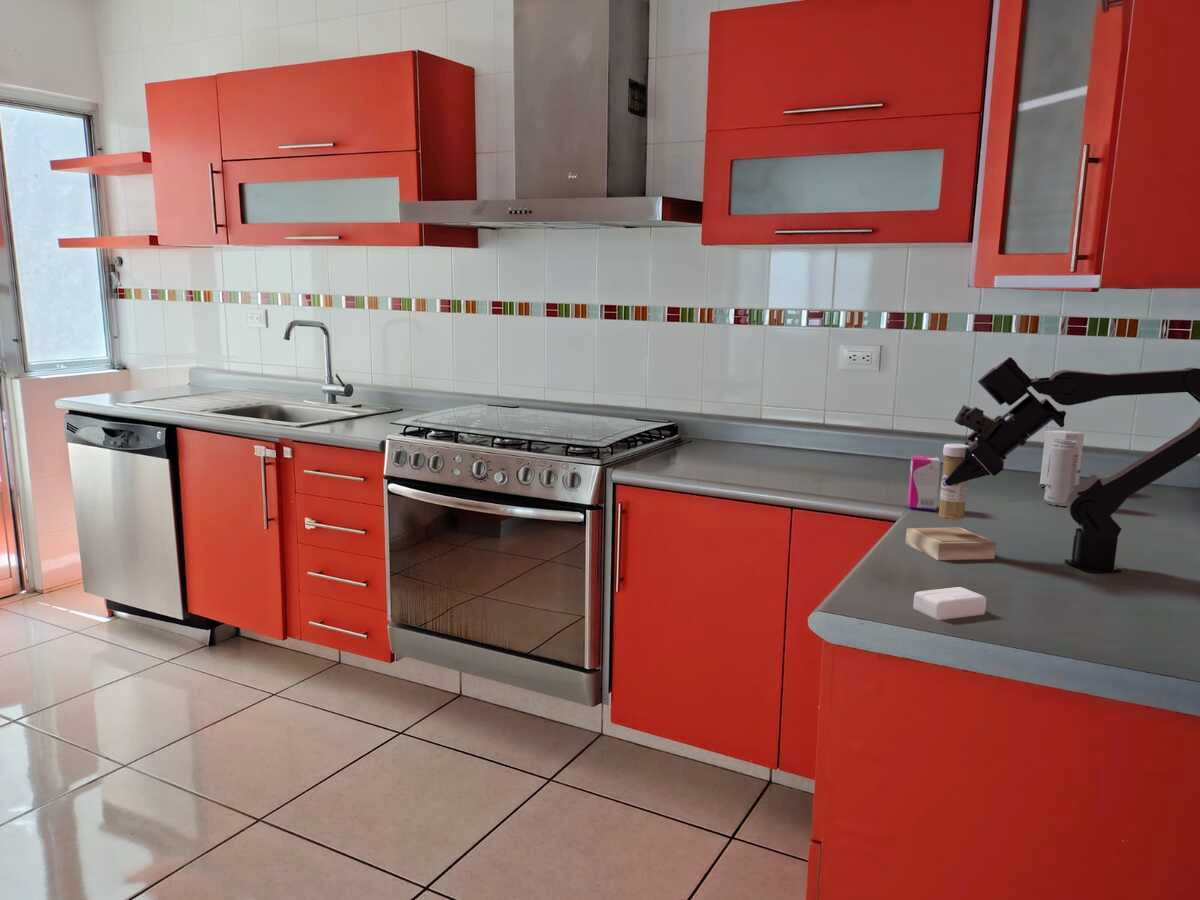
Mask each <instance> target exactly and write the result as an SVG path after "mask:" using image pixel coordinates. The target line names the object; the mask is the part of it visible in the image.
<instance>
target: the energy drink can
mask: <svg viewBox="0 0 1200 900" xmlns="http://www.w3.org/2000/svg"><path fill="white" fill-rule="evenodd" d="M1078 455H1079V448H1078V446H1077V442H1076V441H1072V440H1061V439H1056V440H1054V442H1053V443H1052V445H1051V446H1050V451H1049V460H1048V469H1047V478H1046V487H1045V488H1044V498H1043V499H1044V501H1045V502H1046V501H1047V502H1050V503H1055V504H1066V501H1067V497H1068V495H1069V494H1070V493H1071V492H1072V491H1073V490H1074V488H1073V486H1075V481H1076V472H1077V464H1078Z"/></svg>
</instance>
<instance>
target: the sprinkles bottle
mask: <svg viewBox="0 0 1200 900" xmlns="http://www.w3.org/2000/svg"><path fill="white" fill-rule="evenodd" d="M966 447H967V448H968V447H969V446H968V445H965V444H962V443H946V444H944V445H943V451H942V455H943V463H942V464H943V465H942V474H941V475H942V476H941V484H940V493H939V496H940V497H939V499H940V500H939V509H938V510H939V512H938V513H937V514H938V517H939V518H941V519H943V520H949V521H961V520H964V519H965V517H966V516H965V513H966V512H965V511H966V509H965V508H966V502H967V494H968V493H967V492H968V490H967V489H968V481H965V482H961V483H958V484H954V485H951V486H948V485H947V484H946V483H945V480H946V479H947V478H948V477H949V476H950V474H951V473H952V472H953V471H954V470H955V469H956V468H957V467H958V466H959V464H960V463H961V462H962V461H963V460H964V458H965V448H966Z"/></svg>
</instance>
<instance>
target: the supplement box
mask: <svg viewBox="0 0 1200 900" xmlns="http://www.w3.org/2000/svg"><path fill="white" fill-rule="evenodd" d="M940 467H941V460H940V459H939V458H938V456H925V455H911V457H910V470H909V483H908V496H907V506H908V509H909V510H910V511H911V510H912V511H913V510H915V511H924V512H925V511H928V512H937V507H938V506H937V505H938V494H939V493H938V492H939V483H940V481H939V480H940V471H941V470H940V469H941V468H940Z"/></svg>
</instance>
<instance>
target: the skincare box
mask: <svg viewBox="0 0 1200 900" xmlns="http://www.w3.org/2000/svg"><path fill="white" fill-rule="evenodd" d="M1084 436H1085V432H1080V431H1079V432H1077V431H1069V430H1046V431H1045V432H1044V442H1043V451H1042V460H1041V468H1040V471H1041V472H1040V478H1039V479H1040V480H1039V485H1040V484H1045V485H1046V478H1047V469H1048V460H1049V451H1050V446H1051V445H1052V443H1053V442H1054V440H1056V439H1061V440H1072V441H1076V442H1077V446H1078V448H1079V455H1078V464H1077V472H1076V481H1075V485H1079V484H1080V477H1081V476H1080V474H1081V466H1082V465H1081V464H1082V457H1083V456H1082V455H1083V447H1084V446H1083V445H1084V438H1085V437H1084Z"/></svg>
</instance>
